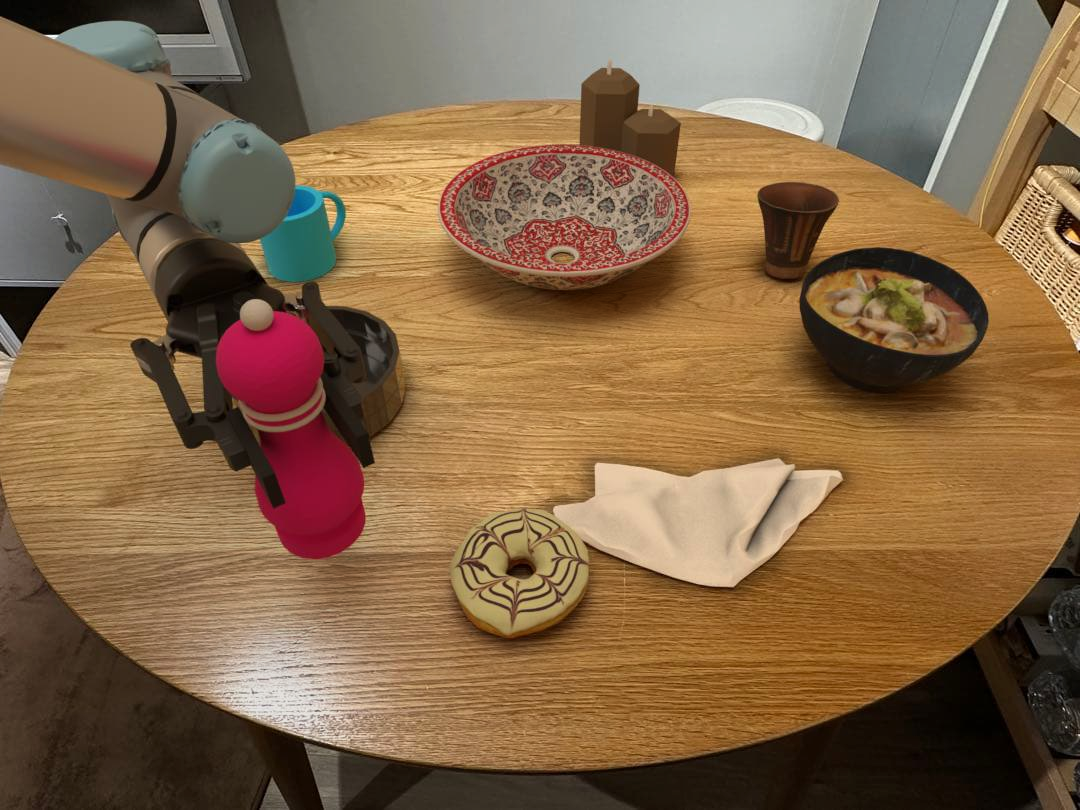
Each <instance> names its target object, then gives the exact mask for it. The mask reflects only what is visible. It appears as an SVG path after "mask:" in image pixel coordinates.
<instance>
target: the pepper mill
mask: <svg viewBox="0 0 1080 810" xmlns="http://www.w3.org/2000/svg"><path fill="white" fill-rule="evenodd" d="M216 365H217V370H218V375H219V377H220V380H221V381H222V383H223V385H224V387H225V388H226V390H227V391H228V392H229V393H230V394H231V395H233V396H234V397H236V398H237V399H238V401H239V405H240V407H241V409H242V412H243V416H244V418H245V420H246V421H247V422H248V423H249V424H250V425H251V426H252V427H254V428H256V429H258V433H259V437H260V444H259V445H260V447H261V449H262V450H263V452H264V454H265V456H266V458H267V459H268V461H269V463H270V465H271V467H272V468H273V470H274V472H275V474H276V477H277V480H278V483H279V486H280V488H281V491H282V494H283V497H284V499H285V502H286V503H285V504H283V505H281V506H279V507H276V508H274V509H273V507H272V505H271V503H270V501H269V499H268V497H267V495H266V494H265V492H264V490H263V488H262V486H261V484H260V482H259V480H258V478H257V477H256V475H255V474H254V493H255V497H256V501H257V504H258V505H257V506H258V509H259V510H260V513H261V515H262V516H263V517H264V519H266V520H267V522H269V523H270V524H271V525H272V526H274V528H275V531H276V534H277V536H278V538H279V541H280V543H281V545H282V546H283V547H284V549H285V550H286V551H288V552H289V553H290V554H292V555H293V556H296V557H298V558H301V559H304V560H305V559H306V560H322V559H327V558H331V557H334V556H336V555H340V554H341V553H343V552H344V551H345V550H347V549H349V548H350V547H352V545H353V544H355V542H356V541H358V539H359V538H360V536H361V535H362V533H363V531H364V529H365V526H366V520H367V516H366V510H365V506H364V502H363V498H362V497H363V494H364V491H365V476H364V471H363V469H362V467H361V463H360V462H359V460H358V459H357V457H356V456H355V454H354V453H353V451H352V450H351V448H350V447H348V446H347V445H346V444H345V443H344V442H343V441H342V440H340V439H339V438H338V437H337V436H336V435H335V434H334V433H333V432H332V431H331V430H330V429H329V427H328V425H327V424H326V421H325V419H324V416H323V414H322V409H323V407H324V405H325V401H326V395H325V391H324V388H323V383H322V380H321V378H320V376H321V374H322V372H323V366H324V356H323V349H322V346H321V344H320V341H319V339H318V337H317V335H316V333H315V332H314V331H313V330H312V329H311V328H310V326H309V325H308V324H307V323H305V322H304V321H302V320H301V319H300V318H298V317H296V316H293V315H291V314H288V313H284V312H278V311H273V310H272V308H271V306H270V305H269V304H268V303H266V302H265V301H263V300H259V299H252V300H249V301H247V302H246V303H245V304H244V305H243V306H242V307H241V310H240V320H239V321H237V322H236V323H234V324H233V325H232V326H231V327H230V328H229V329H227V330H226V332H225V333H224V335H223V336H222V338H221V340H220V342H219V344H218V347H217V353H216Z"/></svg>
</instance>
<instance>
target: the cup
mask: <svg viewBox="0 0 1080 810" xmlns="http://www.w3.org/2000/svg"><path fill="white" fill-rule="evenodd" d="M756 194H757V195H756V197H757V202H758V205H759V209H760V211H761V217H762V223H763V232H764V243H765V245H764V247H765V250H764V251H765V259H764V266H763V268H764V269H763V270H764V271H765V272H766V274H768V275H769V276H771V277H773V278H777V279H782V280H792V279H793V280H795V279H799V278H801V277H803V276H804V275H805V274H806V273H807V269H808V265H809V262H810V259H811V257H812V254H813V252H814V251H815V250H814V249H815V248H816V244H817V242H818V241H819V238H820V236H821V234H822V232H823V229H824V227H825V226H826V223H827V222H828V220H829V219H830V217H831V216H832V215H833V213H834V212H835V210H836V209H837V207H838V205H839V204H840V198H839V196H838V194H837V193H835V191H833V190H831V189H829V188H827V187H825V186H822V185H818V184H814V183H808V182H802V181H801V182H800V181H782V182H774V183H771V184H767V185H765V186H762V187H760V189H759V190H758V191H757V193H756Z"/></svg>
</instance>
